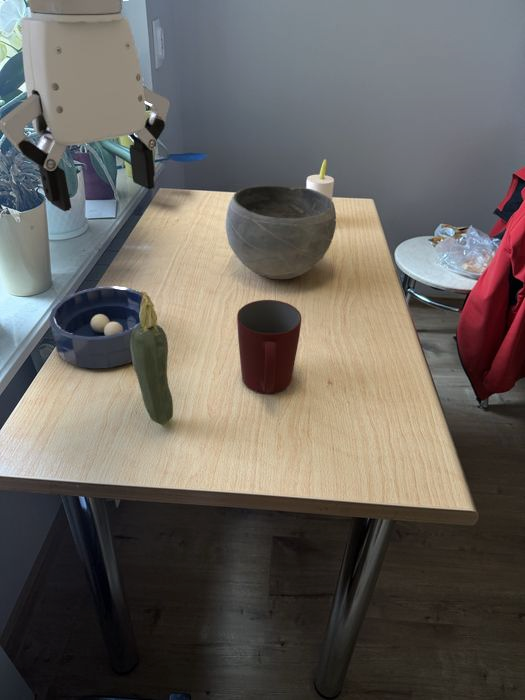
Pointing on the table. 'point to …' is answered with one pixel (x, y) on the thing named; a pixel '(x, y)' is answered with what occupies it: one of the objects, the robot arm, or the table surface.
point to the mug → (268, 344)
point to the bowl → (280, 229)
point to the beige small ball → (99, 323)
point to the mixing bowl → (76, 331)
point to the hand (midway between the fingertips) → (104, 195)
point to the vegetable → (152, 363)
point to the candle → (321, 182)
